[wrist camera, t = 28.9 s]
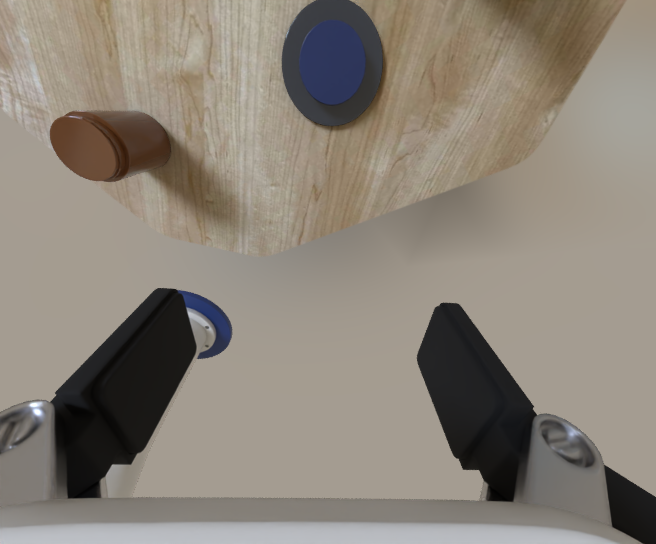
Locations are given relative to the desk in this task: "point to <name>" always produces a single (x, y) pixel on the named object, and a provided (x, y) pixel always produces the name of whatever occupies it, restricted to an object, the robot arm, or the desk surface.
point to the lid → (332, 62)
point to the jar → (109, 143)
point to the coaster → (326, 7)
